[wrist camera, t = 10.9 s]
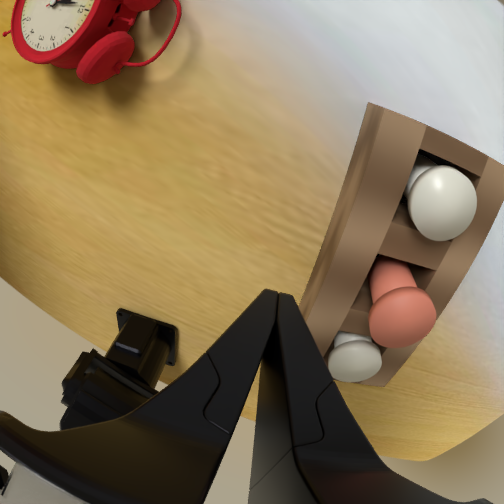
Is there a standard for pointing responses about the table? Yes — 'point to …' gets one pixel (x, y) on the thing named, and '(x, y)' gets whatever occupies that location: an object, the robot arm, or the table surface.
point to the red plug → (397, 305)
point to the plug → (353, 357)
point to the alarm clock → (81, 34)
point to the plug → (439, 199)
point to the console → (392, 231)
